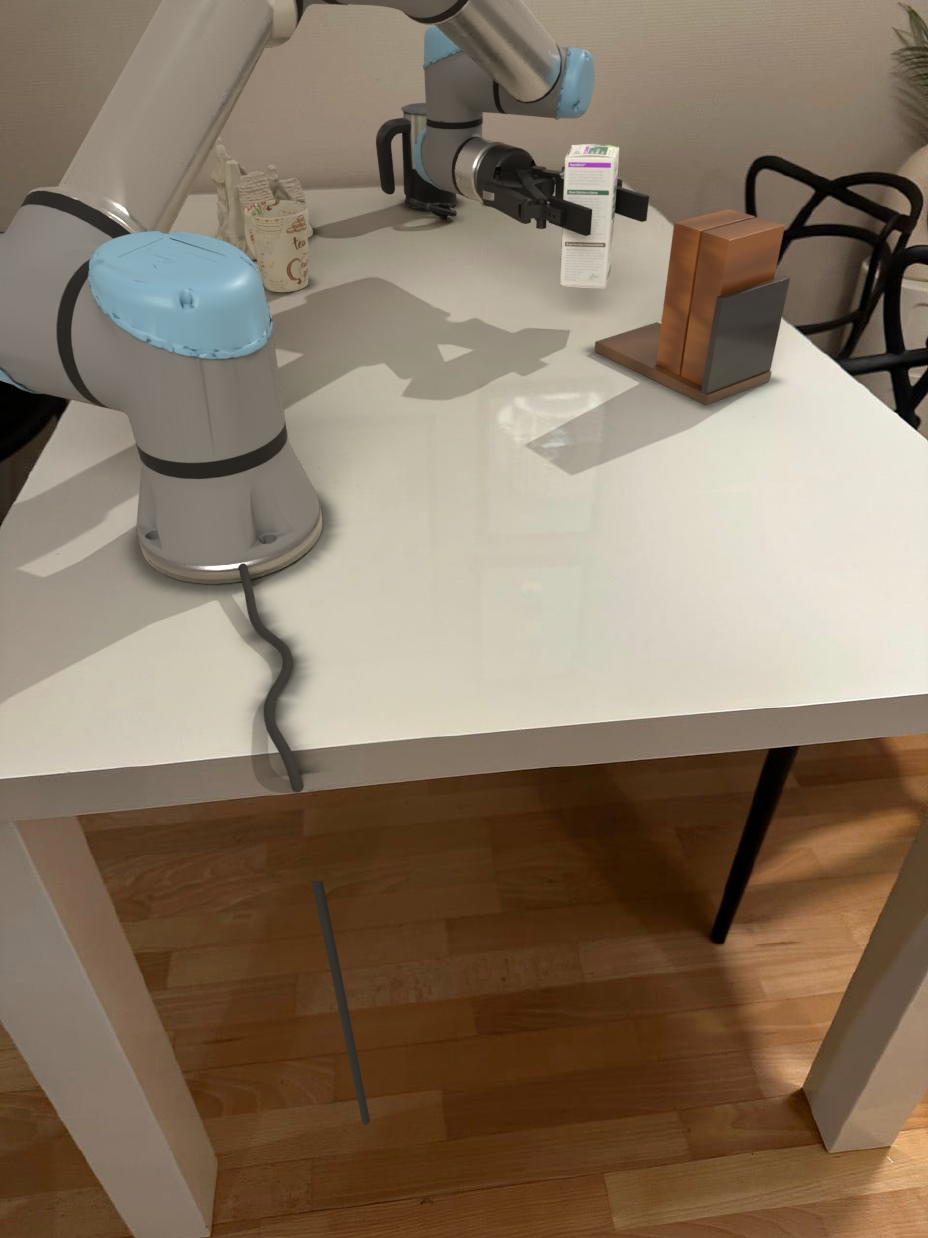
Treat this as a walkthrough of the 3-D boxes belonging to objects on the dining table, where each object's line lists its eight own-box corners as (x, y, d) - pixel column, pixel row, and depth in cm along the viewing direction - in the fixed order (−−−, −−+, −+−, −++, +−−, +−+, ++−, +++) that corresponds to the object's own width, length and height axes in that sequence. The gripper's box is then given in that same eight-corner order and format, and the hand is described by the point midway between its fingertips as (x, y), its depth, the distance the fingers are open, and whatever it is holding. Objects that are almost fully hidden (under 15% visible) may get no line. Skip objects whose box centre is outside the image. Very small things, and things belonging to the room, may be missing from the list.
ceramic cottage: (229, 262, 131) (216, 147, 122) (207, 236, 143) (193, 130, 134) (332, 254, 137) (325, 144, 128) (302, 230, 149) (295, 127, 140)
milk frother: (434, 193, 160) (431, 98, 150) (496, 210, 151) (496, 111, 141) (371, 209, 152) (364, 111, 143) (432, 229, 143) (428, 125, 134)
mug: (281, 300, 120) (270, 221, 113) (225, 279, 126) (212, 204, 120) (328, 283, 124) (320, 207, 118) (272, 264, 131) (261, 191, 125)
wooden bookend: (769, 381, 98) (803, 226, 88) (706, 405, 94) (733, 245, 84) (655, 331, 110) (673, 188, 99) (594, 351, 105) (606, 204, 95)
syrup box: (607, 289, 107) (618, 155, 98) (557, 286, 108) (564, 153, 98) (610, 273, 111) (622, 143, 102) (563, 270, 112) (570, 142, 103)
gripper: (557, 193, 122) (678, 233, 108) (431, 220, 113) (544, 268, 99) (560, 131, 118) (687, 165, 103) (429, 155, 109) (547, 195, 94)
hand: (617, 215), depth 101 cm, fingers closed on syrup box, 8 cm apart
